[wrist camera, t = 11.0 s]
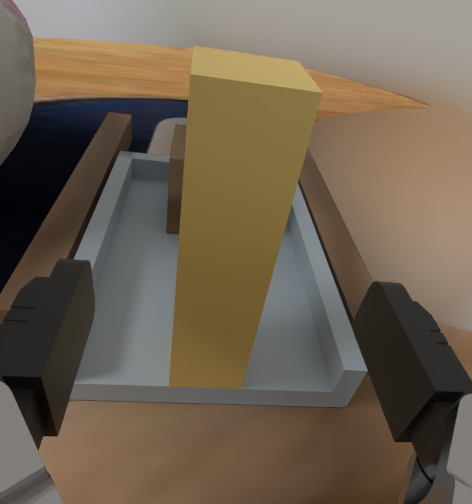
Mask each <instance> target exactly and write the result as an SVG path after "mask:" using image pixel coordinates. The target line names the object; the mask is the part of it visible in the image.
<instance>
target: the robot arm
mask: <svg viewBox="0 0 472 504" xmlns="http://www.w3.org/2000/svg"><path fill="white" fill-rule="evenodd" d="M94 313H95V296H94V287H93V278H92V269H91V263H90V261H89V260H76V259H62V258H60V259H58V261H57V262H56V264H55V266H54V268H53V270H52V272H51V275H50V277H38V276H36V277H35V278H33V279H32V280H31V281H30V282H29V283H27V284H26V285H25V286H24V287H23V288H21V289H20V290H19V292H18V294H17V296H16V298H15V299H14V301H13V303H12V305H11V309H9V310H8V312H7V314H6V316H5V318H4V319H3V320H4V321H3V323H1V325H0V504H63V502H62V500H61V498H60V495H59V493H58V491H57V489H56V487H55V484H54V482H53V480H52V478H51V476H50V474H49V473H48V472H47V470H46V467H45V465H44V463H43V461H42V459H41V456H40V454H39V452H38V450H39V447H40V444H41V441H42V438H43V436H58V434H59V431H60V428H61V424H62V421H63V418H64V415H65V411H66V408H67V405H68V402H69V398H70V395H71V392H72V389H73V385H74V382H75V379H76V376H77V372H78V369H79V366H80V362H81V359H82V356H83V353H84V349H85V346H86V343H87V340H88V336H89V333H90V330H91V327H92V323H93V319H94ZM354 335H355V338H356V341H357V344H358V346H359V349H360V352H361V354H362V357H363V360H364V362H365V365H366V367H367V370H368V373H369V375H370V378H371V381H372V383H373V386H374V389H375V391H376V394H377V396H378V399H379V402H380V404H381V407H382V410H383V412H384V415H385V417H386V420H387V423H388V425H389V428H390V431H391V433H392V436H393V439H394V441H395V442H412V444H413V446H414V449H415V451H414V452H413V454H412V455H411V458H410V461H409V464H408V468H407V471H406V475H405V478H404V482H403V485H402V489H401V492H400V496H399V499H398V503H397V504H472V381H471V379H470V378H469V376H468V374H467V373H466V371H465V369H464V368H463V366H462V364H461V363H460V361H459V360H458V358H457V356H456V355H455V353H454V351H453V350H452V348H451V346H448V342H447V340H446V338H445V337H444V335H443V333H440V328H439V327H438V325H437V324H436V322H435V320H434V319H433V317H432V315H431V314H429V312H427V311H426V310H425V309H424V308H423V307H422V306H421V305H420V304H419V303H418V302H415V301H412V300H411V298H410V296H409V294H408V293H407V291H406V289H405V288H404V286H403V285H402V284H400V283H392V282H377V281H375V282H373V283H372V284H371V285H370V287H369V289H368V291H367V293H366V295H365V297H364V299H363V301H362V303H361V305H360V307H359V309H358V312H357V314H356V316H355V319H354Z"/></svg>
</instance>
